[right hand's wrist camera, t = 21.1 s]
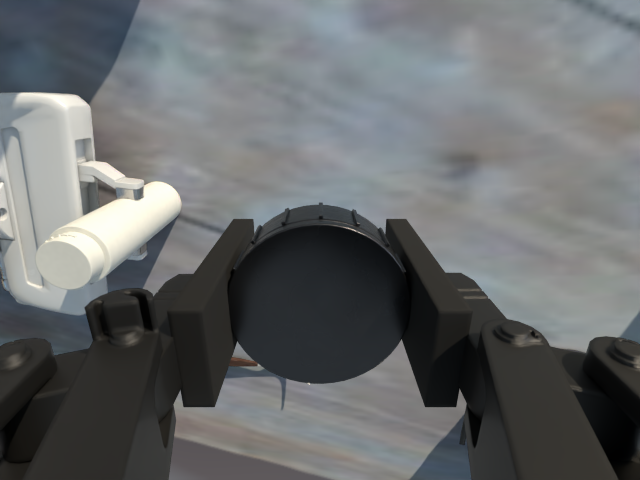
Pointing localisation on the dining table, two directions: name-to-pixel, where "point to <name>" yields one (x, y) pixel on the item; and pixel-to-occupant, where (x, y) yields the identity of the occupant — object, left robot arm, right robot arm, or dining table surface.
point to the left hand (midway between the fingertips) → (143, 220)
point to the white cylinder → (105, 237)
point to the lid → (319, 295)
